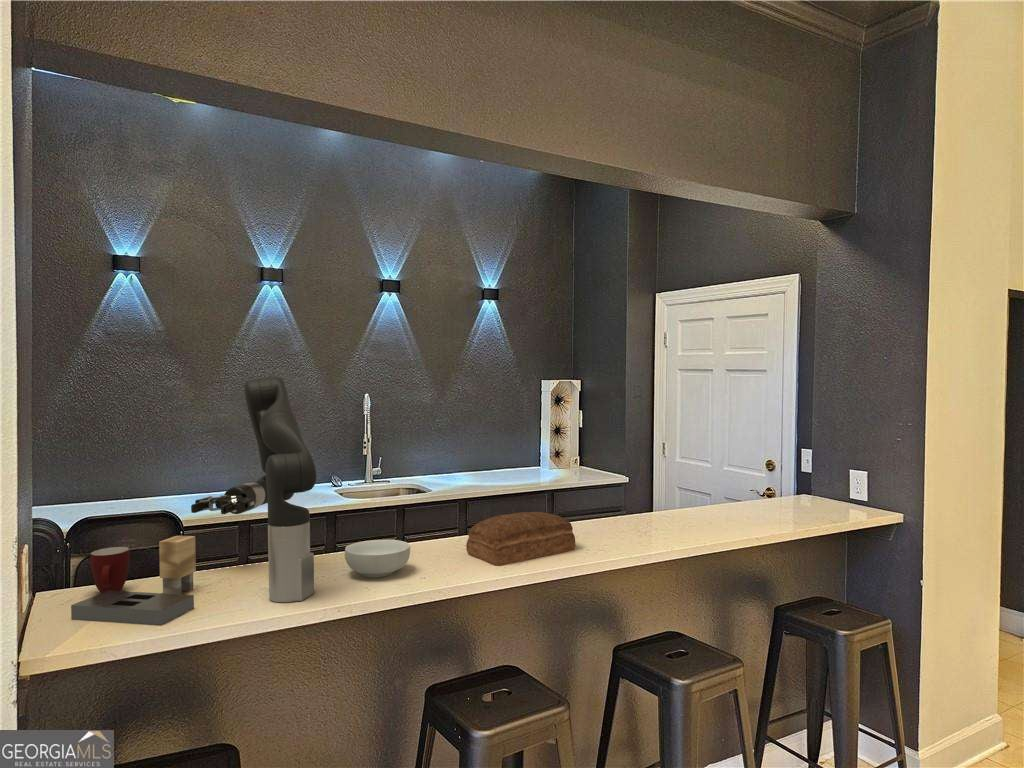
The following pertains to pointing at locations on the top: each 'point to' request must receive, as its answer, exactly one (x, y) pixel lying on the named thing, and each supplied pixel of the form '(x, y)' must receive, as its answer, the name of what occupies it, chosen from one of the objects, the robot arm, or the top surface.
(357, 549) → the cereal bowl
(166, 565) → the tan wooden tall block
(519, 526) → the bread
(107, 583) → the mug
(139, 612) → the dark grey slab
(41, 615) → the top surface
